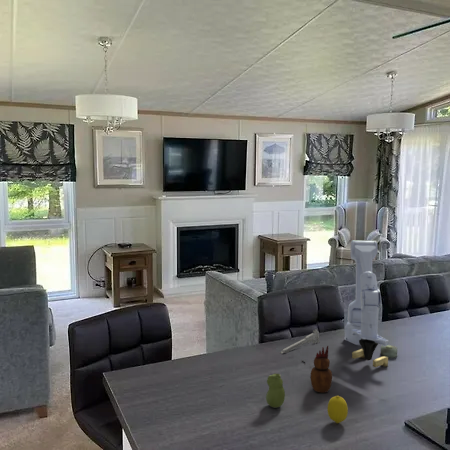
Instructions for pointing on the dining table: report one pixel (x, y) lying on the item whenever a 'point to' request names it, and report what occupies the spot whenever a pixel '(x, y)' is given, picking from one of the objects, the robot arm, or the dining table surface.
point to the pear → (275, 391)
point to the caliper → (304, 341)
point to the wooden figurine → (321, 372)
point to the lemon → (337, 409)
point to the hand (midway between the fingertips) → (368, 359)
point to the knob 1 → (358, 354)
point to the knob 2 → (381, 361)
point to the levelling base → (389, 351)
